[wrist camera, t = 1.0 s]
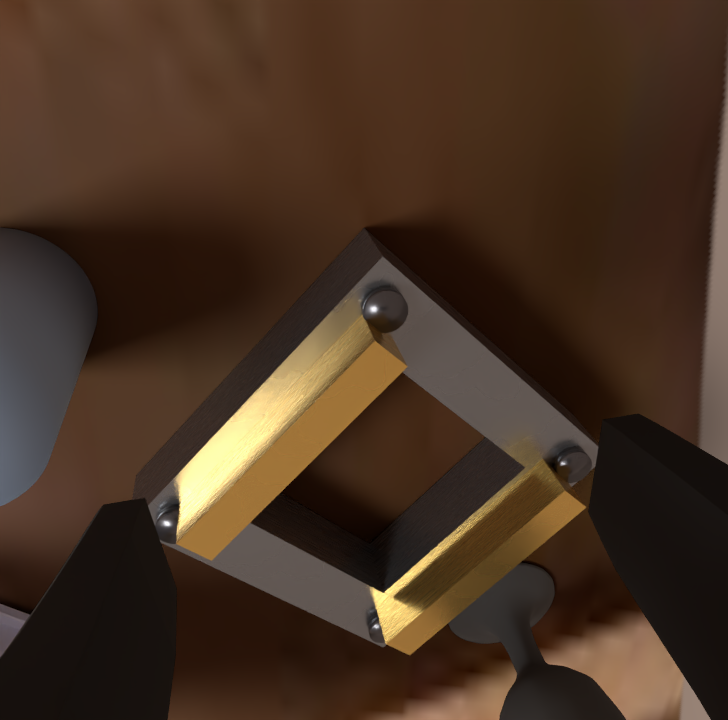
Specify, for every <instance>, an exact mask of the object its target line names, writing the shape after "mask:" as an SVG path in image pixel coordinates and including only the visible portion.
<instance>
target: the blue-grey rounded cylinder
mask: <svg viewBox="0 0 728 720" xmlns="http://www.w3.org/2000/svg"><path fill="white" fill-rule="evenodd" d="M97 317H98V307H97V301H96V296H95V293H94V290H93V287H92V285H91V283H90V281H89V279H88V277H87V276H86V274H85V273H84V271H83V270H82V268H81V267H80V266H79V265H78V264H77V263H76V261H75V260H74V259H72V258H71V257H70V256H69V255H68V254H67V253H66V252H64V251H63V250H62V249H60V248H59V247H58V246H56V245H54V244H53V243H51V242H49V241H48V240H46V239H43V238H41V237H39V236H37V235H34V234H31V233H28V232H25V231H20V230H16V229H10V228H0V506H2V505H4V504H7V503H8V502H10V501H12V500H14V499H15V498H17V497H19V496H20V495H21V494H23V493H24V492H25V491H27V490H28V489H29V488H30V487H31V486H32V485H33V484H34V483H35V482H36V481H37V480H38V478H39V477H40V476H41V474H42V473H43V471H44V469H45V467H46V466H47V464H48V461H49V459H50V456H51V453H52V450H53V447H54V444H55V442H56V439H57V436H58V433H59V430H60V427H61V425H62V422H63V419H64V416H65V413H66V410H67V408H68V405H69V402H70V399H71V396H72V394H73V391H74V388H75V385H76V382H77V379H78V377H79V374H80V371H81V368H82V365H83V362H84V360H85V357H86V354H87V351H88V348H89V345H90V343H91V340H92V337H93V334H94V331H95V328H96V324H97Z"/></svg>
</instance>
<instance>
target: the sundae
mask: <svg viewBox="0 0 728 720" xmlns="http://www.w3.org/2000/svg"><path fill="white" fill-rule="evenodd" d="M554 595H555V591H554V583H553V579H552V578H551V576H550V575H549V574H548V573H547V572H546V571H545V570H544V569H542V568H540V567H538V566H535V565H531V564H527V563H519V564H518V565H517V566H516V567H514V568H513V569H512V570H511V571H510V572H509V573H507V574H506V575H505V576H504V577H503V578H501V579H500V580H499V581H498V582H497V583H495V584H494V585H493V586H492V587H491V588H489V589H488V590H487V591H486V592H485V593H483V594H482V595H481V596H480V597H479V598H477V599H476V600H475V601H474V602H473V603H472V604H470V605H469V606H468V607H467V608H466V609H464V610H463V611H462V612H461V613H460V614H458V615H457V616H456V617H455V618H454V619H452V620H451V621H450V622H449V623H448V624H449V626H450V629H451V630H452V631H453V632H454V633H455V634H456V635H457V636H459V637H460V638H462V639H464V640H467V641H471V642H476V643H497V642H501V643H502V644H503V645H504V647H505V649H506V650H507V652H508V654H509V656H510V658H511V660H512V663H513V665H514V667H515V670H516V672H517V678H516V681H515V683H514V684H513V686H512V687H511V688H510V690H509V692H508V694H507V696H506V698H505V701H504V704H503V707H502V710H501V713H500V720H626V719H625V717H624V716H623V714H622V713H621V712H620V710H619V709H618V708H617V706H616V705H615V704H614V703H613V702H612V701H611V699H610V698H609V697H608V696H607V695H606V693H605V692H604V691H603V690H602V689H601V688H600V686H599V685H598V684H597V683H596V682H595V681H594V680H593V679H592V678H591V677H589V676H587V675H585V674H583V673H580V672H578V671H575V670H573V669H570V668H568V667H564V666H558V665H549V664H547V663H546V662H545V661H544V659H543V657H542V655H541V653H540V651H539V649H538V647H537V645H536V643H535V640H534V637H533V634H532V630H531V627H532V626H534V625H535V624H536V623H537V622H538V621H539V620H540V619H541V618H542V617H543V616H544V614H545V613H546V612H547V611H548V610H549V608H550V606H551V604H552V601H553V598H554Z"/></svg>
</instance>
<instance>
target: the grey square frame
mask: <svg viewBox="0 0 728 720" xmlns="http://www.w3.org/2000/svg"><path fill="white" fill-rule="evenodd" d="M402 372H403V373H404V374H405V375H407V376H408V377H409V378H411V379H412V380H413V381H414V382H416V383H417V384H418V385H420V386H421V387H422V388H423V389H425V390H426V391H427V392H429V393H430V394H431V395H432V396H434V397H435V398H436V399H438V400H439V401H440V402H441V403H443V404H444V405H445V406H447V407H448V408H449V409H450V410H452V411H453V412H454V413H456V414H457V415H458V416H459V417H461V418H462V419H463V420H465V421H466V422H467V423H468V424H470V425H471V426H472V427H474V428H475V429H476V430H477V431H479V432H480V433H481V434H483V435H484V436H485V437H486V438H485V439H483V440H482V441H481V442H480V443H479V444H478V445H477V446H476V447H475V448H474V449H473V450H471V451H470V452H469V453H468V454H467V455H466V456H465V457H464V458H463V459H462V460H461V461H459V462H458V463H457V464H456V465H455V466H454V467H453V468H452V469H451V470H450V471H449V472H447V473H446V474H445V475H444V476H443V477H442V478H441V479H440V480H439V481H438V482H437V483H435V484H434V485H433V486H432V487H431V488H430V489H429V490H428V491H427V492H426V493H424V494H423V495H422V496H421V497H420V498H419V499H418V500H417V501H416V502H415V503H414V504H412V505H411V506H410V507H409V508H408V509H407V510H406V511H405V512H404V513H403V514H402V515H400V516H399V517H398V518H397V519H396V520H395V521H394V522H393V523H392V524H391V525H390V526H388V527H387V528H386V529H385V530H384V531H383V532H382V533H381V534H380V535H379V536H378V537H376V538H375V539H374V540H373V541H372V542H371V543H370V544H368V543H367V542H365V541H363V540H361V539H360V538H358V537H356V536H354V535H353V534H351V533H349V532H347V531H346V530H344V529H342V528H340V527H339V526H337V525H335V524H334V523H332V522H330V521H328V520H327V519H325V518H323V517H321V516H320V515H318V514H316V513H314V512H313V511H311V510H309V509H307V508H306V507H304V506H302V505H300V504H299V503H297V502H295V501H293V500H292V499H290V498H288V497H286V496H285V495H283V494H281V493H280V492H282V491H283V490H284V489H285V488H286V487H287V486H288V485H289V484H290V483H291V482H292V481H293V480H294V479H295V478H296V477H297V476H298V475H299V474H300V473H301V472H302V471H303V470H304V469H305V468H306V467H307V466H308V465H309V464H310V463H311V462H312V461H313V460H314V459H315V458H316V457H317V456H318V455H319V454H320V453H321V452H322V451H323V450H324V449H325V448H326V447H327V446H328V445H329V444H330V443H331V442H332V441H333V440H334V439H335V438H336V437H337V436H338V435H339V434H340V433H341V432H342V431H343V430H344V429H345V428H346V427H347V426H348V425H349V424H350V423H351V422H352V421H353V420H354V419H355V418H356V417H357V416H358V415H359V414H360V413H361V412H362V411H363V410H364V409H365V408H366V407H367V406H368V405H369V404H370V403H371V402H372V401H373V400H374V399H375V398H376V397H377V396H379V395H380V394H381V393H382V392H383V391H384V390H385V389H386V388H387V387H388V386H389V385H390V384H391V383H392V382H393V381H394V380H395V379H396V378H397V377H398V376H399V375H400V374H401V373H402ZM598 446H599V444H598V443H597V442H596V441H595V439H594V438H593V437H592V436H591V435H590V434H589V432H588V431H587V430H586V429H585V428H584V427H583V425H582V424H581V423H580V422H579V421H578V420H577V418H576V417H575V416H574V415H573V414H572V413H571V412H569V411H568V410H567V409H566V408H565V407H564V406H563V405H562V404H561V403H559V402H558V401H557V400H556V399H555V398H554V397H553V396H552V395H550V394H549V393H548V392H547V391H546V390H545V389H544V388H543V387H542V386H540V385H539V384H538V383H537V382H536V381H535V380H534V379H533V378H531V377H530V376H529V375H528V374H527V373H526V372H525V371H524V370H523V369H521V368H520V367H519V366H518V365H517V364H516V363H515V362H514V361H513V360H511V359H510V358H509V357H508V356H507V355H506V354H505V353H504V352H502V351H501V350H500V349H499V348H498V347H497V346H496V345H495V344H494V343H492V342H491V341H490V340H489V339H488V338H487V337H486V336H485V335H483V334H482V333H481V332H480V331H479V330H478V329H477V328H476V327H475V326H473V325H472V324H471V323H470V322H469V321H468V320H467V319H466V318H464V317H463V316H462V315H461V314H460V313H459V312H458V311H457V310H456V309H454V308H453V307H452V306H451V305H450V304H449V303H448V302H447V301H446V300H444V299H443V298H442V297H441V296H440V295H439V294H438V293H437V292H435V291H434V290H433V289H432V288H431V287H430V286H429V285H428V284H427V283H425V282H424V281H423V280H422V279H421V278H420V277H419V276H418V275H416V274H415V273H414V272H413V271H412V270H411V269H410V268H409V267H408V266H406V265H405V264H404V263H403V262H402V261H401V260H400V259H399V258H397V257H396V256H395V255H394V254H393V253H392V252H391V251H390V250H389V249H387V248H386V247H385V246H384V245H383V244H382V243H381V242H380V241H379V240H377V239H376V238H375V237H374V236H373V235H372V234H371V233H370V232H368V231H367V230H366V229H365V228H363V230H362V231H361V232H360V233H359V234H358V235H357V236H356V237H355V238H354V239H353V240H352V242H351V243H350V244H349V245H348V246H347V247H346V248H345V249H344V250H343V251H342V252H341V253H340V255H339V256H338V257H337V258H336V259H335V260H334V261H333V262H332V263H331V264H330V265H329V267H328V268H327V269H326V270H325V271H324V272H323V273H322V274H321V275H320V276H319V277H318V278H317V280H316V281H315V282H314V283H313V284H312V285H311V286H310V287H309V288H308V289H307V290H306V292H305V293H304V294H303V295H302V296H301V297H300V298H299V299H298V300H297V301H296V302H295V303H294V305H293V306H292V307H291V308H290V309H289V310H288V311H287V312H286V313H285V314H284V315H283V317H282V318H281V319H280V320H279V321H278V322H277V323H276V324H275V325H274V326H273V327H272V328H271V330H270V331H269V332H268V333H267V334H266V335H265V336H264V337H263V338H262V339H261V340H260V342H259V343H258V344H257V345H256V346H255V347H254V348H253V349H252V350H251V351H250V352H249V353H248V355H247V356H246V357H245V358H244V359H243V360H242V361H241V362H240V363H239V364H238V365H237V367H236V368H235V369H234V370H233V371H232V372H231V373H230V374H229V375H228V376H227V377H226V378H225V380H224V381H223V382H222V383H221V384H220V385H219V386H218V387H217V388H216V389H215V390H214V392H213V393H212V394H211V395H210V396H209V397H208V398H207V399H206V400H205V401H204V402H203V403H202V405H201V406H200V407H199V408H198V409H197V410H196V411H195V412H194V413H193V414H192V415H191V417H190V418H189V419H188V420H187V421H186V422H185V423H184V424H183V425H182V426H181V427H180V428H179V430H178V431H177V432H176V433H175V434H174V435H173V436H172V437H171V438H170V439H169V440H168V442H167V443H166V444H165V445H164V446H163V447H162V448H161V449H160V450H159V451H158V452H157V453H156V455H155V456H154V457H153V458H152V459H151V460H150V461H149V462H148V463H147V464H146V465H145V467H144V468H143V469H142V470H141V471H140V472H139V473H138V474H137V475H136V480H135V486H134V493H133V499H132V500H134V499H140V498H145V499H146V502H147V504H148V507H149V510H150V513H151V516H152V519H153V522H154V525H155V528H156V530H157V533H158V536H159V539H160V542H161V543H163V544H165V545H167V546H169V547H172V548H174V549H176V550H178V551H180V552H182V553H184V554H186V555H189V556H191V557H193V558H195V559H197V560H199V561H201V562H203V563H205V564H208V565H210V566H212V567H214V568H216V569H218V570H220V571H222V572H225V573H227V574H229V575H231V576H233V577H235V578H237V579H239V580H241V581H244V582H246V583H248V584H250V585H252V586H254V587H256V588H258V589H261V590H263V591H265V592H267V593H269V594H271V595H273V596H275V597H277V598H280V599H282V600H284V601H286V602H288V603H290V604H292V605H294V606H297V607H299V608H301V609H303V610H305V611H307V612H309V613H311V614H313V615H316V616H318V617H320V618H322V619H324V620H326V621H328V622H330V623H333V624H335V625H337V626H339V627H341V628H343V629H345V630H347V631H349V632H352V633H354V634H356V635H358V636H360V637H362V638H364V639H366V640H369V641H371V642H373V643H375V644H377V645H379V646H381V647H384V646H386V645H389V646H391V647H393V648H395V649H397V650H399V651H402V652H404V653H406V654H408V655H411V654H412V653H413V652H414V651H415V650H417V649H418V648H419V647H420V646H421V645H423V644H424V643H425V642H426V641H427V640H429V639H430V638H431V637H432V636H433V635H435V634H436V633H437V632H438V631H439V630H441V629H442V628H443V627H444V626H445V625H446V624H448V623H449V622H450V621H451V620H452V619H454V618H455V617H456V616H457V615H458V614H460V613H461V612H462V611H463V610H464V609H466V608H467V607H468V606H469V605H470V604H472V603H473V602H474V601H475V600H476V599H477V598H479V597H480V596H481V595H482V594H483V593H485V592H486V591H487V590H488V589H489V588H491V587H492V586H493V585H494V584H495V583H497V582H498V581H499V580H500V579H501V578H503V577H504V576H505V575H506V574H507V573H509V572H510V571H511V570H512V569H513V568H514V567H516V566H517V565H518V564H519V563H520V562H522V561H523V560H524V559H525V558H526V557H528V556H529V555H530V554H531V553H532V552H534V551H535V550H536V549H537V548H538V547H540V546H541V545H542V544H543V543H544V542H545V541H547V540H548V539H549V538H550V537H551V536H553V535H554V534H555V533H556V532H557V531H559V530H560V529H561V528H562V527H563V526H565V525H566V524H567V523H568V522H569V521H571V520H572V519H573V518H574V517H575V516H577V515H578V514H579V513H580V512H581V511H582V510H584V509H585V508H586V506H585V505H584V503H583V502H582V501H581V499H580V498H579V497H578V495H577V494H576V492H575V491H574V490H573V488H572V486H573V485H574V484H575V483H577V482H578V481H580V480H581V479H583V478H584V477H585V476H587V474H588V473H589V472H590V471H591V470H592V469H593V468H594V467H595V465H596V459H597V453H598Z"/></svg>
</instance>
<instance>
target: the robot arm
mask: <svg viewBox="0 0 728 720" xmlns="http://www.w3.org/2000/svg"><path fill="white" fill-rule="evenodd" d="M588 512H589V515H590V517H591V519H592V521H593V523H594V526H595V528H596V530H597V532H598V534H599V536H600V539H601V541H602V543H603V545H604V547H605V549H606V551H607V553H608V555H609V557H610V559H611V561H612V563H613V565H614V567H615V569H616V571H617V572H618V574H619V576H620V577H621V579H622V580H623V582H624V584H625V585H626V587H627V588H628V590H629V591H630V593H631V595H632V596H633V598H634V599H635V601H636V602H637V604H638V606H639V607H640V609H641V610H642V612H643V614H644V615H645V617H646V618H647V620H648V621H649V623H650V624H651V626H652V627H653V629H654V631H655V632H656V634H657V635H658V637H659V638H660V640H661V641H662V643H663V644H664V646H665V648H666V649H667V651H668V652H669V654H670V655H671V657H672V658H673V660H674V661H675V663H676V665H677V666H678V668H679V669H680V671H681V672H682V674H683V675H684V677H685V678H686V680H687V682H688V683H689V685H690V686H691V688H692V689H693V691H694V692H695V694H696V695H697V697H698V699H699V700H700V702H701V704H702V705H703V707H704V709H705V710H706V712H707V714H708V715H709V717H710V719H711V720H728V465H727V464H726V463H724V462H722V461H720V460H719V459H717V458H715V457H714V456H712V455H710V454H708V453H707V452H705V451H703V450H702V449H700V448H698V447H697V446H695V445H693V444H692V443H690V442H688V441H686V440H685V439H683V438H681V437H680V436H678V435H676V434H674V433H673V432H671V431H669V430H667V429H666V428H664V427H662V426H660V425H659V424H657V423H655V422H653V421H651V420H650V419H648V418H646V417H644V416H642V415H640V414H633V415H627V416H622V417H616V418H610V419H604V420H603V421H602V427H601V433H600V440H599V446H598V453H597V459H596V465H595V472H594V478H593V485H592V491H591V498H590V504H589V510H588ZM176 607H177V588H176V585H175V582H174V579H173V577H172V574H171V571H170V568H169V565H168V562H167V559H166V556H165V553H164V551H163V548H162V545H161V542H160V539H159V536H158V533H157V530H156V528H155V525H154V522H153V519H152V516H151V513H150V510H149V507H148V504H147V502H146V499H145V498H140V499H134V500H128V501H122V502H117V503H111V504H105V505H103V506H102V507H101V508H100V510H99V511H98V512H97V514H96V515H95V517H94V518H93V520H92V521H91V523H90V524H89V526H88V528H87V529H86V531H85V532H84V534H83V535H82V537H81V539H80V540H79V542H78V543H77V545H76V547H75V548H74V550H73V551H72V553H71V554H70V556H69V557H68V559H67V561H66V562H65V564H64V565H63V567H62V568H61V570H60V571H59V573H58V574H57V576H56V577H55V579H54V580H53V582H52V584H51V585H50V587H49V588H48V590H47V591H46V592H45V594H44V595H43V597H42V598H41V600H40V601H39V603H38V604H37V606H36V607H35V609H34V610H33V611H32V613H31V614H30V615H29V614H27V613H24V612H21V611H19V610H16V609H13V608H10V607H8V606H5V605H2V604H0V720H167V719H168V712H169V704H170V696H171V688H172V680H173V673H174V664H175V656H176Z"/></svg>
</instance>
